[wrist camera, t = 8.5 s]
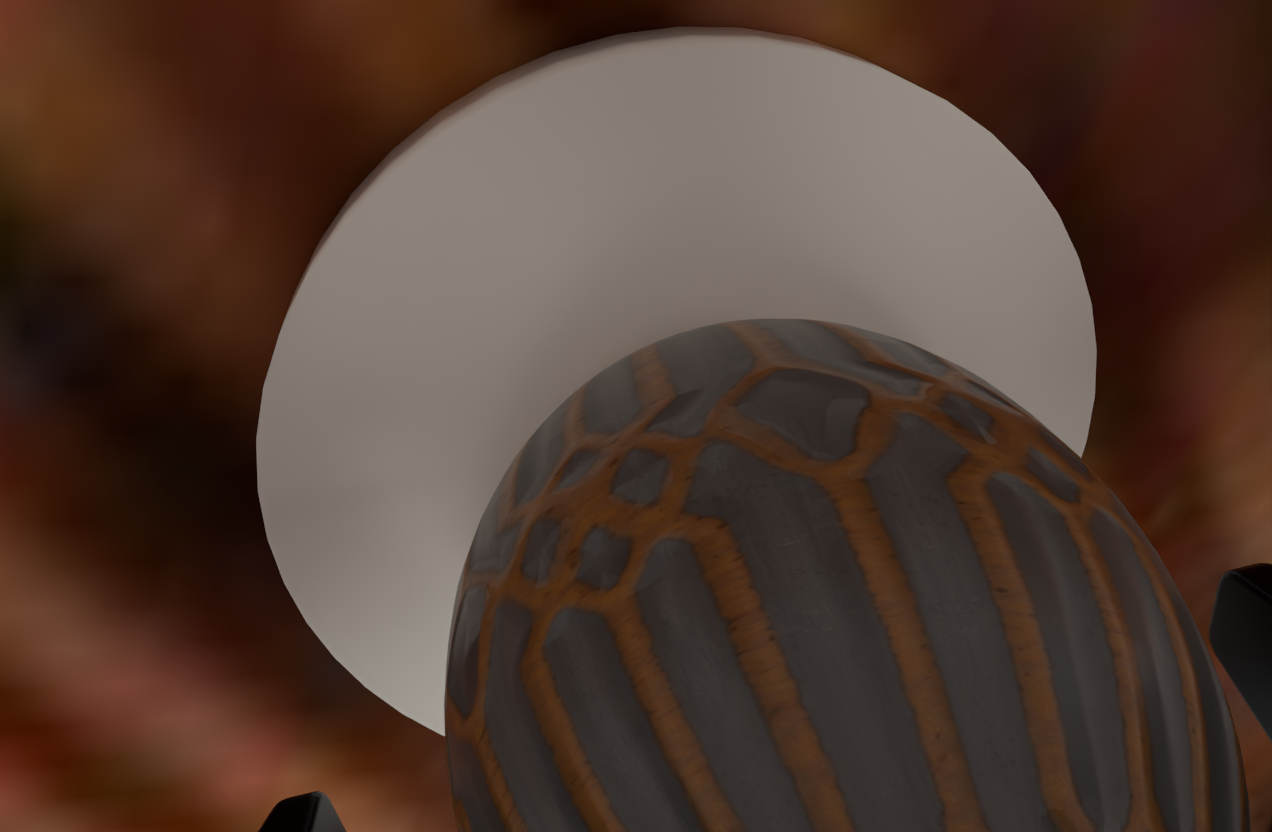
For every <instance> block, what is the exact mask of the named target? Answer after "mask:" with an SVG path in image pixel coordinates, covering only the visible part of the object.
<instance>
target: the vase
mask: <svg viewBox="0 0 1272 832" xmlns="http://www.w3.org/2000/svg"><path fill="white" fill-rule="evenodd" d="M444 719H445V750H446V767H447V774H448V781H449V787H450V793H451V799H452V805H453V811H454V817H455V822H456V826H457V829H458V832H1250V814H1249V801H1248V792H1247V786H1246V779H1245V772H1244V766H1243V759H1242V754H1241V749H1240V745H1239V740H1238V737H1237V733H1236V730H1235V726H1234V723H1233V719H1232V715H1231V712H1230V708H1229V705H1228V701H1227V699H1226V696H1225V693H1224V690H1223V688H1222V685H1221V682H1220V680H1219V677H1218V675H1217V672H1216V670H1215V667H1214V665H1213V662H1212V660H1211V657H1210V654H1209V652H1208V649H1207V647H1206V644H1205V642H1204V640H1203V638H1202V636H1201V634H1200V632H1199V630H1198V628H1197V626H1196V624H1195V621H1194V619H1193V617H1192V615H1191V613H1190V611H1189V609H1188V607H1187V605H1186V603H1185V601H1184V599H1183V597H1182V595H1181V594H1180V592H1179V590H1178V588H1177V586H1176V584H1175V583H1174V581H1173V579H1172V577H1171V576H1170V574H1169V572H1168V570H1167V569H1166V567H1165V565H1164V563H1163V562H1162V560H1161V558H1160V556H1159V555H1158V553H1157V551H1156V550H1155V548H1154V547H1153V546H1152V544H1151V543H1150V541H1149V540H1148V538H1147V537H1146V536H1145V534H1144V533H1143V531H1142V530H1141V529H1140V527H1139V526H1138V524H1137V523H1136V522H1135V520H1134V519H1133V517H1132V516H1131V515H1130V513H1129V512H1128V510H1127V509H1126V508H1125V506H1124V505H1123V503H1122V502H1121V501H1120V500H1119V499H1118V498H1117V496H1116V495H1115V494H1114V493H1113V492H1112V491H1111V490H1110V489H1109V487H1108V486H1107V485H1106V484H1105V483H1104V482H1103V481H1102V480H1101V479H1100V478H1099V477H1098V476H1097V475H1096V474H1095V473H1094V471H1093V470H1092V469H1091V468H1090V467H1089V466H1088V465H1087V464H1086V463H1085V462H1084V461H1083V460H1082V459H1081V458H1080V457H1079V456H1078V455H1077V454H1076V453H1075V452H1074V451H1073V450H1072V449H1071V448H1069V447H1068V446H1067V445H1066V444H1065V443H1064V442H1063V441H1062V440H1060V439H1059V438H1058V437H1057V436H1056V435H1055V434H1054V433H1052V432H1051V431H1050V430H1049V429H1048V428H1047V427H1046V426H1044V425H1043V424H1042V423H1041V422H1040V421H1039V420H1038V419H1036V418H1035V417H1034V416H1033V415H1032V414H1031V413H1029V412H1028V411H1027V410H1025V409H1024V408H1022V407H1021V406H1020V405H1018V404H1017V403H1016V402H1014V401H1013V400H1012V399H1010V398H1009V397H1007V396H1006V395H1005V394H1003V393H1002V392H1001V391H999V390H998V389H996V388H995V387H994V386H992V385H991V384H989V383H988V382H987V381H985V380H984V379H982V378H981V377H979V376H977V375H975V374H974V373H972V372H970V371H968V370H967V369H965V368H963V367H961V366H959V365H957V364H955V363H952V362H950V361H948V360H946V359H944V358H942V357H940V356H938V355H936V354H933V353H931V352H929V351H927V350H925V349H922V348H920V347H918V346H916V345H913V344H911V343H908V342H905V341H902V340H899V339H896V338H894V337H890V336H887V335H883V334H880V333H876V332H872V331H869V330H865V329H861V328H857V327H853V326H849V325H845V324H839V323H833V322H827V321H818V320H806V319H766V318H764V319H749V320H739V321H731V322H724V323H719V324H714V325H709V326H704V327H700V328H696V329H693V330H689V331H686V332H682V333H679V334H676V335H673V336H671V337H668V338H665V339H662V340H660V341H657V342H655V343H653V344H651V345H648V346H646V347H644V348H642V349H639V350H637V351H635V352H634V353H632V354H630V355H628V356H626V357H624V358H622V359H620V360H619V361H617V362H615V363H614V364H612V365H611V366H609V367H607V368H606V369H604V370H603V371H601V372H600V373H598V374H597V375H596V376H594V377H593V378H591V379H590V380H589V381H587V382H586V383H585V384H583V385H582V386H581V387H580V388H579V389H577V390H576V391H575V392H574V393H573V394H572V395H570V396H569V397H568V398H567V399H566V400H565V401H564V402H563V403H562V404H561V405H560V406H559V407H558V408H557V409H556V410H555V411H554V412H553V413H552V414H551V415H550V416H549V417H548V418H547V419H546V420H545V421H544V422H543V423H542V425H541V426H540V427H539V428H538V429H537V430H536V431H535V433H534V434H533V435H532V436H531V437H530V438H529V439H528V441H527V442H526V443H525V445H524V446H523V447H522V449H521V450H520V451H519V453H518V454H517V455H516V457H515V458H514V460H513V461H512V463H511V465H510V466H509V468H508V470H507V471H506V473H505V474H504V476H503V478H502V480H501V481H500V483H499V485H498V487H497V489H496V490H495V492H494V494H493V496H492V498H491V500H490V502H489V504H488V506H487V508H486V510H485V511H484V513H483V515H482V518H481V520H480V523H479V525H478V528H477V530H476V533H475V535H474V538H473V541H472V543H471V546H470V549H469V552H468V555H467V558H466V560H465V563H464V566H463V570H462V573H461V576H460V580H459V583H458V587H457V592H456V597H455V602H454V608H453V614H452V621H451V628H450V635H449V641H448V652H447V663H446V680H445V696H444Z"/></svg>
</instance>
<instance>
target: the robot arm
mask: <svg viewBox="0 0 1272 832" xmlns="http://www.w3.org/2000/svg"><path fill="white" fill-rule="evenodd" d="M1209 639H1210V643H1211V646H1212V648H1213V651H1214V653H1215V655H1216V656H1217V658H1218V660H1219V661H1220V663H1221V664H1222V666H1223V667H1224V669H1225V670H1226V672H1227V674H1228V675H1229V677H1230V678H1231V680H1232V681H1233V683H1234V684H1235V686H1236V688H1237V689H1238V691H1239V692H1240V694H1241V695H1242V697H1243V698H1244V700H1245V702H1246V703H1247V705H1248V706H1249V708H1250V709H1251V711H1252V712H1253V714H1254V716H1255V717H1256V719H1257V720H1258V722H1259V723H1260V725H1261V726H1262V728H1263V730H1264V731H1265V733H1266V734H1267V736H1268V737H1269V739H1270V741H1271V742H1272V564H1267V563H1258V564H1253V565H1249V566H1245V567H1241V568H1237V569H1233V570H1229V571H1227V572H1225V573H1224V574H1223V575H1222V577H1221V578H1220V580H1219V583H1218V588H1217V592H1216V597H1215V601H1214V606H1213V610H1212V615H1211V620H1210V624H1209ZM258 832H346V830H345V828H344V827H343V825H342V823H341V821H340V819H339V817H338V815H337V813H336V811H335V809H334V807H333V805H332V803H331V801H330V800H329V798H328V797H327V795H325V794H324V793H323V792H320V791H318V792H317V791H315V792H311V793H307V794H303V795H299V796H294V797H290V798H287V799H284V800H282V801H280V802H279V803H278V804H277V805H276V806H275V807H274V808H273V809H272V811H271V812H270V814H269V815H268V817H267V818H266V820H265V821H264V823H263V825H262V826H261V828H260V829H259V831H258Z"/></svg>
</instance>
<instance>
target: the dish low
mask: <svg viewBox="0 0 1272 832" xmlns="http://www.w3.org/2000/svg"><path fill="white" fill-rule="evenodd" d="M764 318H766V319H806V320H818V321H827V322H833V323H839V324H845V325H849V326H853V327H857V328H861V329H865V330H869V331H872V332H876V333H880V334H883V335H887V336H890V337H894V338H896V339H899V340H902V341H905V342H908V343H911V344H913V345H916V346H918V347H920V348H922V349H925V350H927V351H929V352H931V353H933V354H936V355H938V356H940V357H942V358H944V359H946V360H948V361H950V362H952V363H955V364H957V365H959V366H961V367H963V368H965V369H967V370H968V371H970V372H972V373H974V374H975V375H977V376H979V377H981V378H982V379H984V380H985V381H987V382H988V383H989V384H991V385H992V386H994V387H995V388H996V389H998V390H999V391H1001V392H1002V393H1003V394H1005V395H1006V396H1007V397H1009V398H1010V399H1012V400H1013V401H1014V402H1016V403H1017V404H1018V405H1020V406H1021V407H1022V408H1024V409H1025V410H1027V411H1028V412H1029V413H1031V414H1032V415H1033V416H1034V417H1035V418H1036V419H1038V420H1039V421H1040V422H1041V423H1042V424H1043V425H1044V426H1046V427H1047V428H1048V429H1049V430H1050V431H1051V432H1052V433H1054V434H1055V435H1056V436H1057V437H1058V438H1059V439H1060V440H1062V441H1063V442H1064V443H1065V444H1066V445H1067V446H1068V447H1069V448H1071V449H1072V450H1073V451H1074V452H1075V453H1076V454H1077V455H1078V456H1079V457H1080V458H1081V457H1082V454H1083V451H1084V448H1085V445H1086V442H1087V437H1088V431H1089V426H1090V420H1091V415H1092V409H1093V404H1094V398H1095V382H1096V356H1097V348H1096V339H1095V330H1094V321H1093V312H1092V303H1091V300H1090V296H1089V293H1088V289H1087V285H1086V282H1085V278H1084V274H1083V271H1082V267H1081V264H1080V260H1079V257H1078V255H1077V253H1076V251H1075V248H1074V246H1073V244H1072V242H1071V240H1070V238H1069V235H1068V233H1067V231H1066V229H1065V227H1064V225H1063V223H1062V220H1061V218H1060V216H1059V214H1058V212H1057V211H1056V209H1055V208H1054V207H1053V205H1052V204H1051V202H1050V201H1049V199H1048V198H1047V196H1046V195H1045V193H1044V192H1043V191H1042V189H1041V188H1040V186H1039V185H1038V183H1037V182H1036V180H1035V179H1034V178H1033V176H1032V175H1031V173H1030V172H1029V171H1028V170H1027V169H1026V168H1025V167H1024V166H1023V165H1022V164H1021V163H1020V161H1019V160H1018V159H1017V158H1016V157H1015V156H1014V155H1013V154H1012V153H1011V152H1010V151H1009V150H1008V149H1007V148H1006V147H1005V146H1004V145H1003V144H1002V143H1001V142H1000V141H999V140H998V139H997V138H996V137H995V136H994V135H993V134H992V133H991V132H989V131H988V130H987V129H985V128H984V127H983V126H981V125H980V124H978V123H977V122H976V121H974V120H973V119H972V118H970V117H969V116H967V115H966V114H965V113H963V112H962V111H961V110H959V109H958V108H956V107H955V106H954V105H952V104H951V103H950V102H948V101H947V100H945V99H943V98H941V97H939V96H937V95H935V94H933V93H931V92H929V91H927V90H925V89H923V88H921V87H919V86H917V85H915V84H913V83H911V82H909V81H907V80H905V79H903V78H901V77H899V76H897V75H895V74H893V73H891V72H889V71H887V70H885V69H883V68H881V67H879V66H877V65H875V64H873V63H871V62H868V61H866V60H864V59H862V58H860V57H858V56H856V55H854V54H851V53H848V52H845V51H842V50H839V49H836V48H832V47H829V46H826V45H823V44H820V43H817V42H814V41H811V40H807V39H804V38H801V37H797V36H791V35H785V34H778V33H772V32H766V31H760V30H753V29H747V28H741V27H671V28H663V29H656V30H648V31H640V32H633V33H625V34H617V35H613V36H609V37H605V38H602V39H598V40H595V41H591V42H587V43H584V44H580V45H576V46H573V47H569V48H565V49H562V50H558V51H555V52H552V53H550V54H547V55H545V56H543V57H540V58H538V59H536V60H533V61H531V62H529V63H526V64H524V65H522V66H519V67H517V68H515V69H513V70H510V71H508V72H506V73H503V74H501V75H499V76H496V77H494V78H493V79H491V80H489V81H488V82H486V83H484V84H483V85H481V86H479V87H478V88H476V89H474V90H473V91H471V92H469V93H468V94H466V95H465V96H463V97H461V98H460V99H458V100H456V101H455V102H453V103H451V104H450V105H448V106H446V107H445V108H443V109H441V110H440V111H439V112H438V113H436V114H435V115H434V116H433V117H431V118H430V119H429V120H428V121H427V122H425V123H424V124H423V125H422V126H420V127H419V128H418V129H417V130H415V131H414V132H413V133H412V134H411V135H409V136H408V137H407V138H406V139H404V140H403V141H402V142H401V143H400V144H398V145H397V146H396V147H395V148H393V149H392V150H391V151H390V152H389V154H388V155H387V156H386V157H385V158H384V159H383V160H382V161H381V162H380V163H379V164H378V166H377V167H376V168H375V169H374V170H373V171H372V172H371V173H370V174H369V175H368V176H367V177H366V179H365V180H364V181H363V182H362V183H361V184H360V185H359V186H358V187H357V188H356V189H355V190H354V192H353V193H352V194H351V195H350V197H349V198H348V200H347V201H346V203H345V204H344V206H343V207H342V208H341V210H340V211H339V213H338V214H337V216H336V217H335V219H334V220H333V222H332V223H331V225H330V226H329V228H328V229H327V230H326V232H325V233H324V235H323V236H322V238H321V239H320V241H319V243H318V245H317V247H316V249H315V251H314V253H313V255H312V257H311V259H310V261H309V263H308V265H307V267H306V269H305V272H304V274H303V276H302V278H301V280H300V282H299V284H298V286H297V288H296V290H295V293H294V295H293V298H292V301H291V304H290V306H289V309H288V312H287V314H286V317H285V320H284V322H283V325H282V328H281V331H280V333H279V337H278V340H277V343H276V347H275V350H274V353H273V356H272V360H271V363H270V366H269V370H268V373H267V376H266V380H265V383H264V386H263V392H262V400H261V407H260V415H259V422H258V430H257V437H256V453H257V484H258V495H259V500H260V505H261V510H262V515H263V520H264V525H265V530H266V535H267V539H268V542H269V545H270V547H271V550H272V553H273V555H274V558H275V561H276V563H277V566H278V569H279V571H280V574H281V577H282V579H283V582H284V584H285V586H286V587H287V589H288V591H289V593H290V594H291V596H292V598H293V600H294V602H295V603H296V605H297V607H298V609H299V610H300V612H301V614H302V616H303V617H304V619H305V621H306V623H307V624H308V625H309V626H310V628H311V629H312V630H313V631H314V633H315V634H316V635H317V636H318V638H319V639H320V640H321V641H322V643H323V644H324V645H325V647H326V648H327V649H328V650H329V652H330V653H331V654H332V655H333V657H334V658H335V659H336V660H337V661H338V662H339V663H341V664H342V665H343V666H344V667H345V668H346V669H347V670H348V671H349V672H350V673H351V674H352V675H353V676H354V677H355V678H356V679H357V680H358V681H360V682H361V683H362V684H363V685H364V686H365V687H366V688H367V689H369V690H370V691H371V692H373V693H374V694H375V695H377V696H378V697H380V698H381V699H382V700H384V701H385V702H387V703H388V704H389V705H391V706H392V707H394V708H395V709H396V710H398V711H399V712H400V713H402V714H404V715H405V716H407V717H409V718H411V719H413V720H415V721H417V722H418V723H420V724H422V725H424V726H426V727H428V728H429V729H431V730H433V731H435V732H437V733H439V734H440V735H443V736H445V719H444V696H445V680H446V663H447V652H448V641H449V635H450V628H451V621H452V614H453V608H454V602H455V597H456V592H457V587H458V583H459V580H460V576H461V573H462V570H463V566H464V563H465V560H466V558H467V555H468V552H469V549H470V546H471V543H472V541H473V538H474V535H475V533H476V530H477V528H478V525H479V523H480V520H481V518H482V515H483V513H484V511H485V510H486V508H487V506H488V504H489V502H490V500H491V498H492V496H493V494H494V492H495V490H496V489H497V487H498V485H499V483H500V481H501V480H502V478H503V476H504V474H505V473H506V471H507V470H508V468H509V466H510V465H511V463H512V461H513V460H514V458H515V457H516V455H517V454H518V453H519V451H520V450H521V449H522V447H523V446H524V445H525V443H526V442H527V441H528V439H529V438H530V437H531V436H532V435H533V434H534V433H535V431H536V430H537V429H538V428H539V427H540V426H541V425H542V423H543V422H544V421H545V420H546V419H547V418H548V417H549V416H550V415H551V414H552V413H553V412H554V411H555V410H556V409H557V408H558V407H559V406H560V405H561V404H562V403H563V402H564V401H565V400H566V399H567V398H568V397H569V396H570V395H572V394H573V393H574V392H575V391H576V390H577V389H579V388H580V387H581V386H582V385H583V384H585V383H586V382H587V381H589V380H590V379H591V378H593V377H594V376H596V375H597V374H598V373H600V372H601V371H603V370H604V369H606V368H607V367H609V366H611V365H612V364H614V363H615V362H617V361H619V360H620V359H622V358H624V357H626V356H628V355H630V354H632V353H634V352H635V351H637V350H639V349H642V348H644V347H646V346H648V345H651V344H653V343H655V342H657V341H660V340H662V339H665V338H668V337H671V336H673V335H676V334H679V333H682V332H686V331H689V330H693V329H696V328H700V327H704V326H709V325H714V324H719V323H724V322H731V321H739V320H749V319H764Z"/></svg>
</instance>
